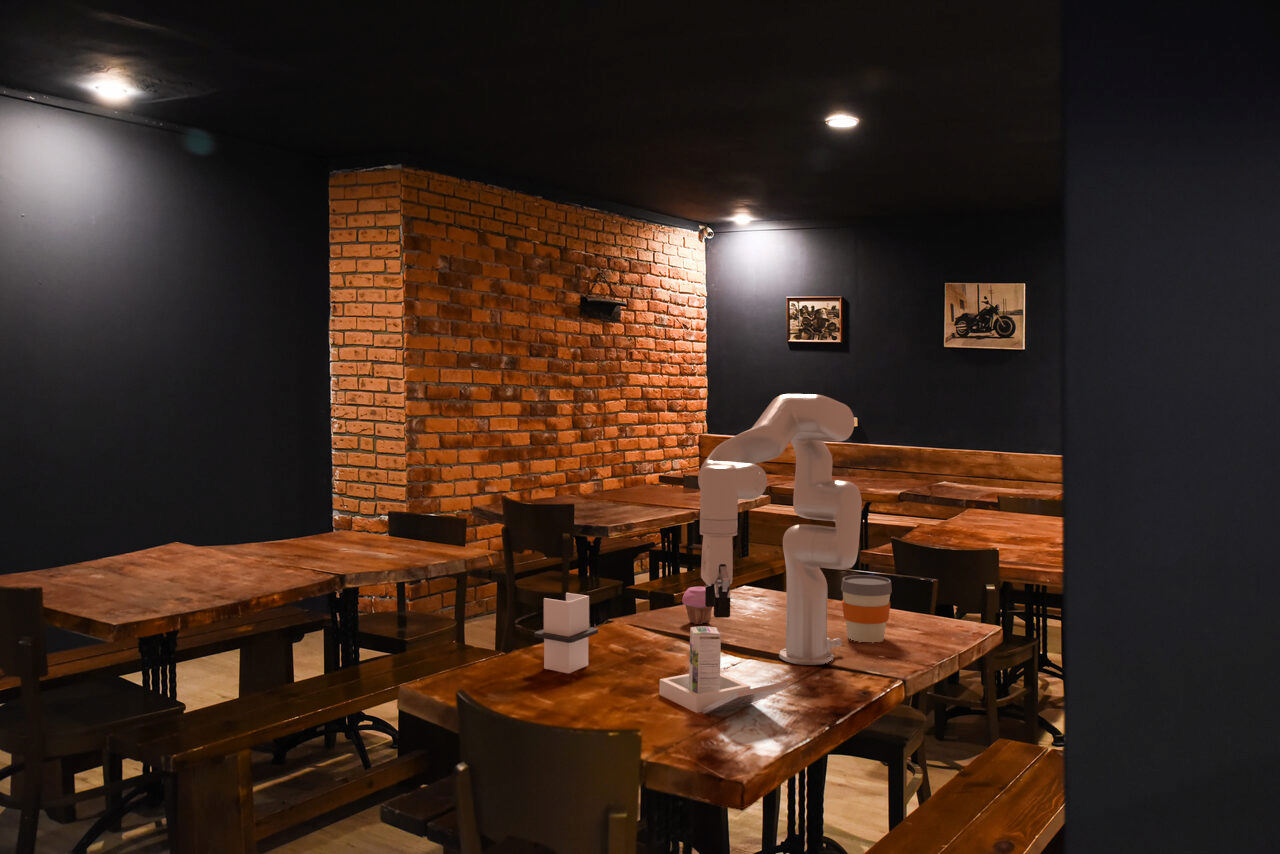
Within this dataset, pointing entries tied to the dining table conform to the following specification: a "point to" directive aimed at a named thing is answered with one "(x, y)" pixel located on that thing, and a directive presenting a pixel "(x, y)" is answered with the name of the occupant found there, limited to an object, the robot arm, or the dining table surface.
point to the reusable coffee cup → (866, 606)
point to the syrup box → (704, 659)
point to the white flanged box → (566, 633)
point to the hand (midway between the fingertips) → (717, 611)
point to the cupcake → (696, 605)
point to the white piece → (681, 694)
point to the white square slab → (744, 697)
